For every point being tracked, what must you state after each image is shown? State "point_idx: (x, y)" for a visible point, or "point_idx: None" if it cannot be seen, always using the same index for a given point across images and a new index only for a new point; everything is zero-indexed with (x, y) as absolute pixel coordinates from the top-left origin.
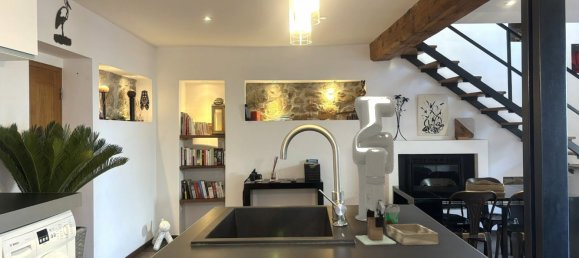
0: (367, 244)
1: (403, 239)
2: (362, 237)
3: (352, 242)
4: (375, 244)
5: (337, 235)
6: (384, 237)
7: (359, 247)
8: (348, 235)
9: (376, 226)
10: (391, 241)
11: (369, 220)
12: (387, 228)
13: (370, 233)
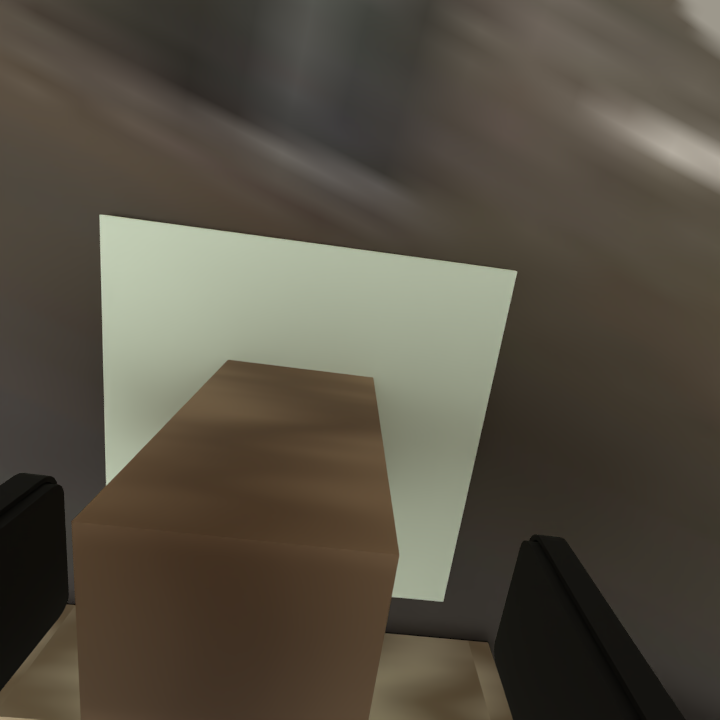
0: (104, 242)
1: (31, 654)
2: (405, 322)
3: (269, 99)
4: (109, 345)
5: (689, 46)
6: None
7: (9, 79)
8: (621, 215)
9: (13, 489)
10: None
11: (260, 508)
12: (489, 709)
13: (252, 392)
